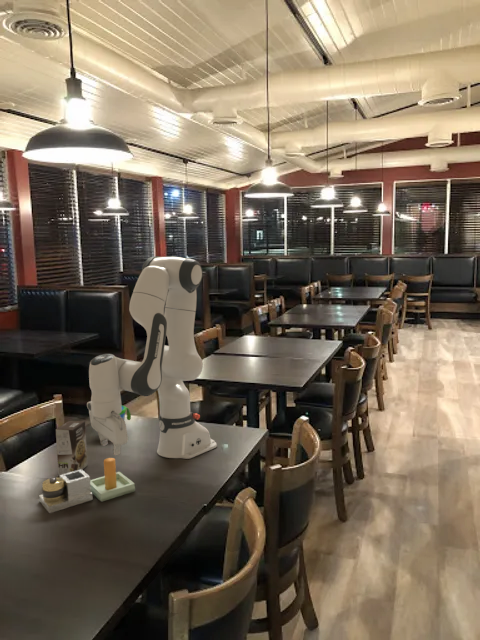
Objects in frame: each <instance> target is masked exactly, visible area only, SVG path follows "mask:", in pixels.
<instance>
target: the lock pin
mask: <svg viewBox="0 0 480 640" xmlns="http://www.w3.org/2000/svg"><path fill="white" fill-rule="evenodd" d="M116 464H117V463H116V458H114V457H107V458H105V459H104V460H103V472H104V473H103V474H104V475H103V476H105V489H106V490H110V489H114V488H116V487H117V484H116V473H117V471H116V470H117V468H116Z"/></svg>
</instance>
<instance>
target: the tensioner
mask: <svg viewBox="0 0 480 640" xmlns="http://www.w3.org/2000/svg"><path fill="white" fill-rule="evenodd" d="M90 480H91V476H90V475H89V474H88V473H87V472H85V470H83V469H80V470H76V471H73V472H69V473H65V474H62V475H59V476H57V477H56V476H55V477H53V476H52V477H49V478H48V479H45V480H44V481H43V482H41V483H42V487H41V491H42V493H41V494H39V495H38V497H39V502H40V504H41V505H42V506H43V507H44V509H45V510H46V511H47V513H49V514H53V513H54V512H58V511H60V510H64V509H68V508H70V507H74V506H77V505H80V504H83V503H87V502H90V501H92V500H94V498H93V495H94V494H93V493H92V492H91V485H90Z"/></svg>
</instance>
